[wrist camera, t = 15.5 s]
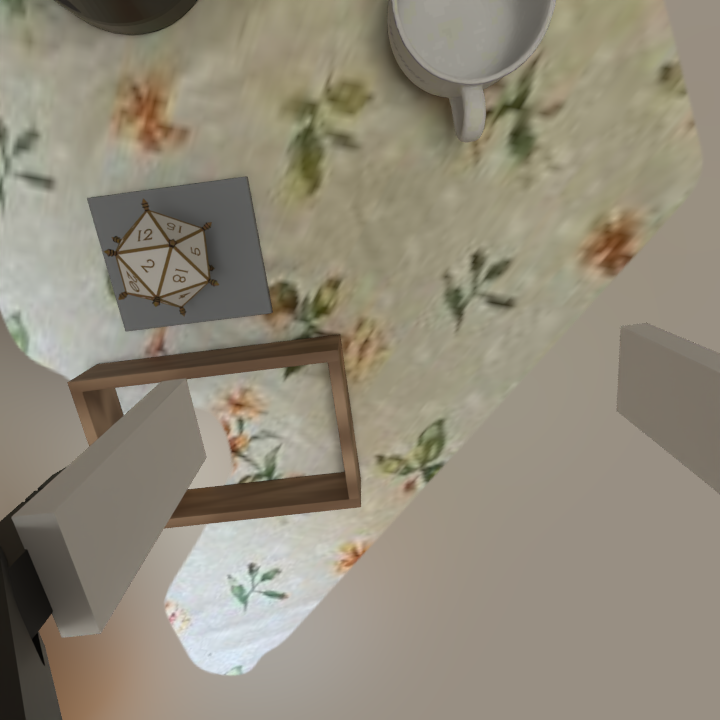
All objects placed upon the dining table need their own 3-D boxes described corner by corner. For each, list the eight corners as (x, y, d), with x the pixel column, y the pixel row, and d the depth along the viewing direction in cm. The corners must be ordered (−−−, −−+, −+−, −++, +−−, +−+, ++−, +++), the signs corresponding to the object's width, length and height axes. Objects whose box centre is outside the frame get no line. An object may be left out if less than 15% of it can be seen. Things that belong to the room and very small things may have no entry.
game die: (208, 269, 47) (197, 351, 41) (113, 241, 43) (86, 327, 37) (236, 200, 41) (228, 285, 35) (128, 159, 37) (99, 248, 31)
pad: (90, 198, 42) (86, 198, 41) (247, 177, 41) (245, 176, 41) (128, 329, 45) (125, 331, 45) (272, 311, 45) (271, 313, 44)
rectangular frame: (97, 364, 47) (67, 382, 42) (340, 334, 46) (337, 349, 41) (141, 502, 52) (118, 533, 47) (360, 478, 51) (360, 506, 46)
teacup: (392, -58, 36) (401, -128, 28) (533, -42, 36) (579, -106, 29) (373, 141, 40) (377, 127, 33) (499, 155, 41) (531, 144, 33)
